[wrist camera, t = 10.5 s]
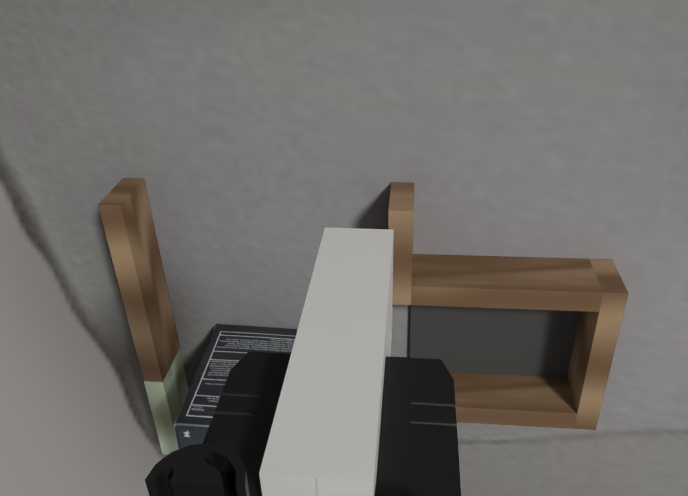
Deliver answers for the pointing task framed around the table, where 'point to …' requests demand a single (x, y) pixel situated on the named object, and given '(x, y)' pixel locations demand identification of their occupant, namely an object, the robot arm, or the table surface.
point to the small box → (223, 373)
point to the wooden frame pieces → (408, 289)
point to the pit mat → (495, 339)
